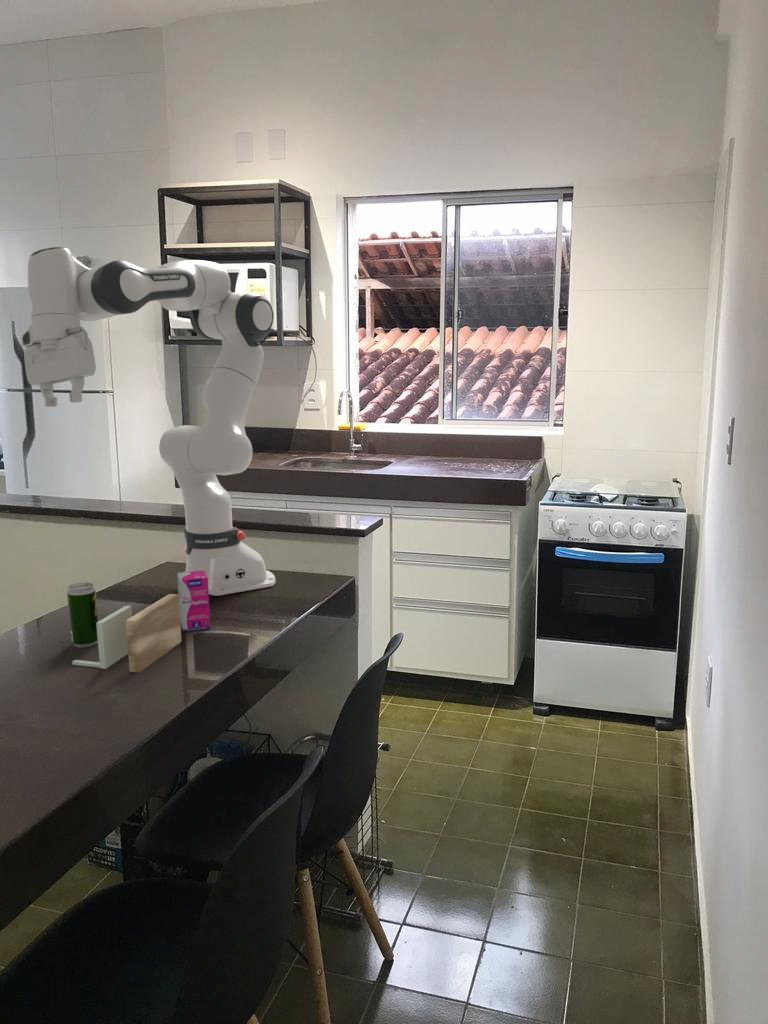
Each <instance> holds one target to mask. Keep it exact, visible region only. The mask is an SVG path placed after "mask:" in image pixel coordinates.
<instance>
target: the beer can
mask: <svg viewBox="0 0 768 1024" xmlns="http://www.w3.org/2000/svg"><path fill="white" fill-rule="evenodd" d="M96 591H97V590H96V588H95V584H94V583H92V582H78V583H73V584H70V585H69V586H67V591H66V595H67V596H66V597H67V606H68V618H69V620H68V621H69V628H70V629H69V630H70V631H69V632H70V638H71V639H70V640H71V644H72V645H73V647H75V648H80V649H81V648H82V649H83V648H90V647H93V646H96V645H97V644H98V637H97V625H96V623H97V622H98V621H99V615H98V606H97V605H98V602H97V592H96Z"/></svg>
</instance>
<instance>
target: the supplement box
mask: <svg viewBox="0 0 768 1024" xmlns="http://www.w3.org/2000/svg"><path fill="white" fill-rule="evenodd" d="M176 575H177V591H178V593H177V594H178V595H179V611H180V627H181V632H189V631H197V630H198V631H199V630H209V629H210V628H211V618H210V597H209V595H210V594H209V592H208V578H207V576H206V574H205V571H192V572H185V571H183V572H182V571H181V572H177V574H176Z"/></svg>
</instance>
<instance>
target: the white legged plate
mask: <svg viewBox="0 0 768 1024" xmlns="http://www.w3.org/2000/svg"><path fill="white" fill-rule="evenodd" d="M132 616H133V610H132V605H124V606H123V607H121V608H119V609H117V610H115V611H114V612H113V613H110V614H109V615H107V616H106V617H104V618H102V619H100V620H98V622H97V623H96V625H97V637H98V643H97V644H98V645H97V646H98V647H97V648H98V657H99V661H89V660H81V659H74V660H72V662H71V664H72V666H80V667H90V668H99V669H101V670H106V669H108V668H109V667H111V666H112V665H114V664H115V663H117V662H118V661H120V660H121V659H123V658H124V657H126V656H127V655H128V642H127V629H126V620H127V619H129V618H130V617H132Z"/></svg>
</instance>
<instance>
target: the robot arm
mask: <svg viewBox="0 0 768 1024" xmlns="http://www.w3.org/2000/svg"><path fill="white" fill-rule="evenodd" d="M71 252H72V251H71V250H70V249H69V248H67V247H63V246H62V247H61V246H53V247H47V248H42V249H39V250H36V251H34V252H32V253H31V254H30V255H29V258H28V263H27V284H28V286H27V289H28V295H29V299H30V301H31V306H32V307H31V313H30V317H31V318H30V319H31V324H30V325H29V327H28V328H27V330H26V331H25V332H24V333H23V334H22V335H21V337H20V341H21V342H20V343H21V347H23V348H25V349H24V353H23V354H24V355H23V356H24V358H23V359H24V368H25V374H26V375H25V376H26V379H27V381H28V384H29V385H30V386H37V387H39V390H40V392H41V394H42V397H43V398H44V406H45V407H47V408H54V407H57V406H58V398H57V396H56V397H55V395H54V391H53V390H54V388H55V387H54V385H55V384H58V383H64V382H68V381H70V384H71V390H70V392H69V394H68V396H69V397H68V398H69V401H70V403H71V404H72V403H76V404H77V403H82V401H83V394H82V393H83V389H84V387H85V383H86V382H85V378H87V377H92V376H93V377H94V375H95V373H96V369H97V366H96V359H95V353H94V348H93V344H92V343H93V342H92V341H91V339H90V338H89V334H88V332H87V331H86V329H84V327H83V326H81V321H85V322H95V321H99V320H103V319H107V318H112V317H115V316H119V315H127V314H133V313H135V312H138V311H139V310H141V308H144V307H145V305H147V304H149V302H154V301H155V302H156V301H157V302H158V303H159V305H160V306H162V307H163V308H164V309H165V310H167V311H172V312H189V320H190V324H191V326H192V329H193V331H194V332H195V333H196V334H197V335H198V336H199V337H202V338H204V339H208V340H221V352H220V355H219V356H218V358H217V359H216V361H215V363H214V366H213V369H212V371H211V373H210V376H209V378H208V381H207V383H206V385H205V386H204V387H205V388H204V390H203V393H202V396H201V401H202V404H203V406H204V408H205V409H206V411H208V414H207V415H208V416H207V421H206V423H205V425H204V426H200V425H199V426H198V425H189V424H188V425H187V424H185V425H179V426H174V427H170V428H169V429H167V430H166V431H164V432H163V434H162V435H161V438H160V440H159V445H158V446H159V449H158V450H159V454H160V457H161V458H162V461H163V462H164V463H165V464H166V465H167V466H168V467H169V469H170V470H171V471H172V473H173V475H174V476H175V479H176V481H177V483H178V486H179V489H180V492H181V496H182V499H183V506H184V518H185V530H184V536H183V539H184V540H183V541H184V551H185V554H186V563H185V571H184V572H192V571H205V574H206V576H207V578H208V592H209V595H210V596H214V597H215V596H216V597H217V596H219V597H220V596H225V595H229V594H235V593H240V592H247V591H254V590H258V589H265V588H269V587H273V586H275V584H276V576H275V575H274V573H273V572H271V571H270V570H268V569H266V564H265V561H264V559H263V557H262V555H261V554H260V553H259V552H257V551H256V550H254V549H253V548H252V547H250V546H248V545H247V544H246V543H244V542H242V541H244V540H245V539H246V537H247V536H246V533H245V532H244V531H242V530H241V529H239V528H237V527H236V526H233V512H232V509H233V508H232V498H231V495H230V493H229V492H228V491H227V490H226V488H224V487H223V486H222V485H221V483H220V482H219V479H218V476H229V475H236V474H242V473H243V472H244V471H246V470H247V469H248V467H249V466H250V464H251V462H252V458H253V453H254V452H253V445H252V443H251V440H250V439H249V437H248V436H247V433H246V428H245V426H246V425H245V423H246V416H247V412H248V409H249V406H250V402H251V400H252V397H253V394H254V392H255V390H256V387H257V385H258V382H259V380H260V379H259V378H260V375H261V372H262V367H263V363H264V356H265V352H264V349H263V347H262V344H264V343H265V342H266V340H267V339H268V336H269V334H270V332H271V329H272V327H273V322H274V309H273V308H272V304H271V302H270V300H269V299H268V298H267V297H265V296H264V295H261V294H258V293H254V292H246V293H245V292H237V291H236V292H232V290H231V278H230V275H229V273H228V271H227V270H226V268H225V267H224V266H222V265H221V264H220V263H217V262H214V261H210V260H204V259H203V260H202V259H183V260H174V261H170V262H167V263H164V264H161V265H159V266H158V267H157V268H143V267H141V266H137V265H135V264H133V263H131V262H128V261H126V260H117V259H116V260H113V261H110V262H108V263H106V264H104V265H101V266H99V267H95V268H90V267H87V266H86V265H84V264H83V263H82V262H80V261H79V260H78V259H77V258H76V257H74V255H73V254H72V253H71ZM217 475H218V476H217Z"/></svg>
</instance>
